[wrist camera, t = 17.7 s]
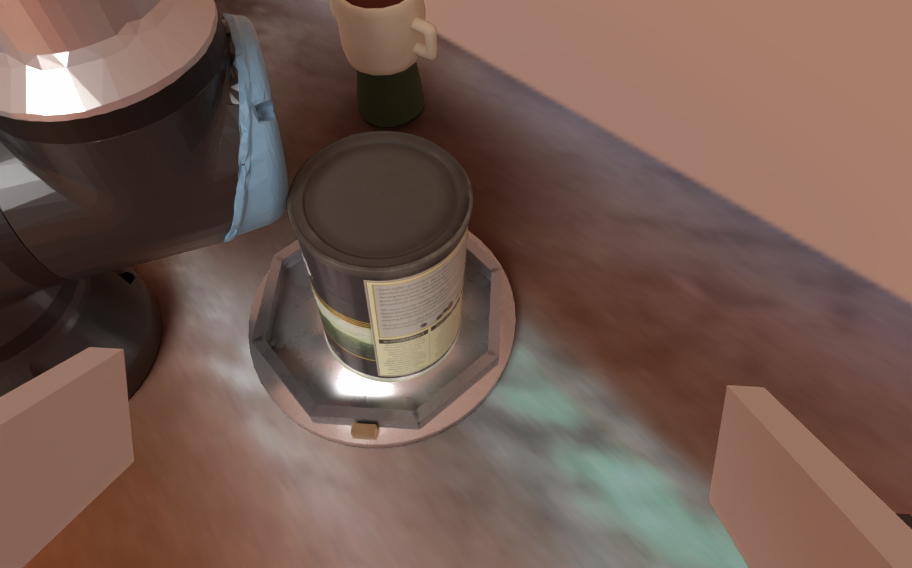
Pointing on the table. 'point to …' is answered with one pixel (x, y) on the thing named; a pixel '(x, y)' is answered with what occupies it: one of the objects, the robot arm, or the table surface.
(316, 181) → the coffee can
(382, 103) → the character mug
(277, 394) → the locking base
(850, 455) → the table surface
